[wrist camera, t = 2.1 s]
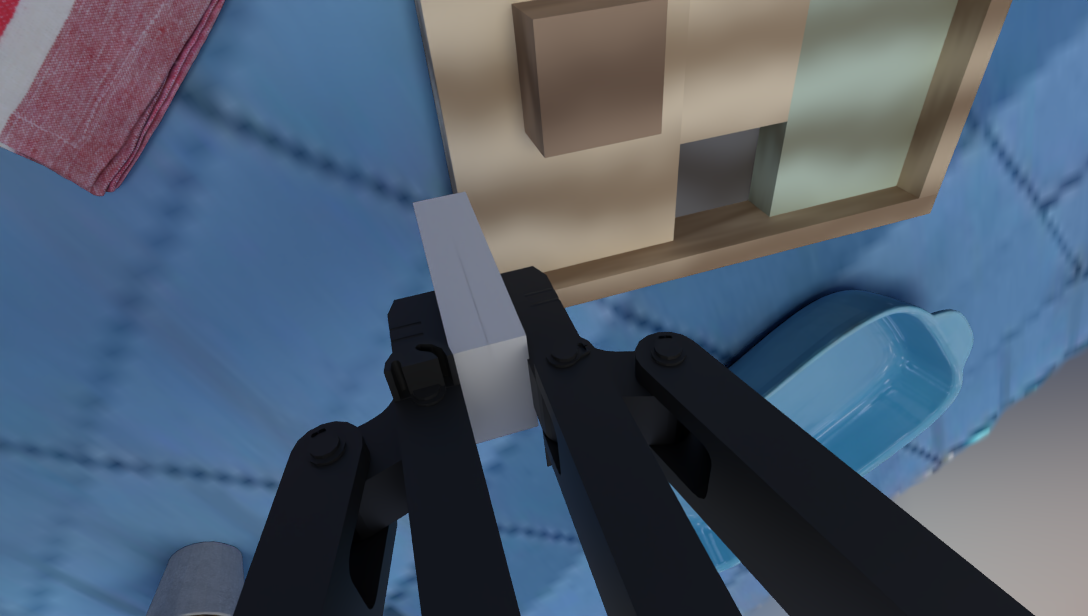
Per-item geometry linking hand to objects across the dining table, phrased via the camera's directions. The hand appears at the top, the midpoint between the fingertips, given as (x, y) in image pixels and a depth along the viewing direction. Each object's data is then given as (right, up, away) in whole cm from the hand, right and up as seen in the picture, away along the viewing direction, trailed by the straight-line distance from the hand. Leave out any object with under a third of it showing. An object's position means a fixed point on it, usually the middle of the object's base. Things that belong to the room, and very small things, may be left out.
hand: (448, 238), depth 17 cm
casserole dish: (+23, -12, +41) cm, 49 cm away
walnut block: (+4, +10, +12) cm, 16 cm away
